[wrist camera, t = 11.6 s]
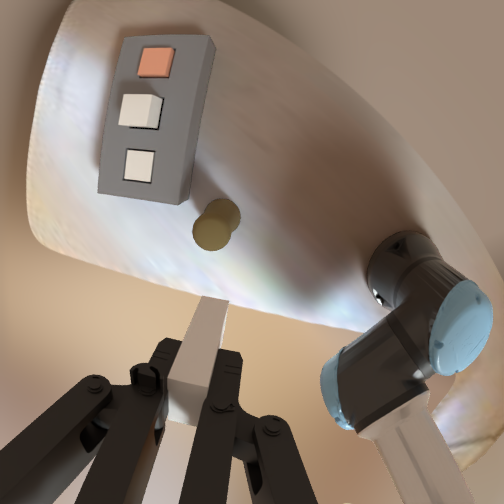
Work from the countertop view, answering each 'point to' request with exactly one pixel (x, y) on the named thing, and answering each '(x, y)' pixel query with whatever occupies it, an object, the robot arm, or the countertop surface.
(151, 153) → the cream square button
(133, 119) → the cream white cube
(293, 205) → the countertop surface
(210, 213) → the cork
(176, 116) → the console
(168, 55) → the terracotta button
